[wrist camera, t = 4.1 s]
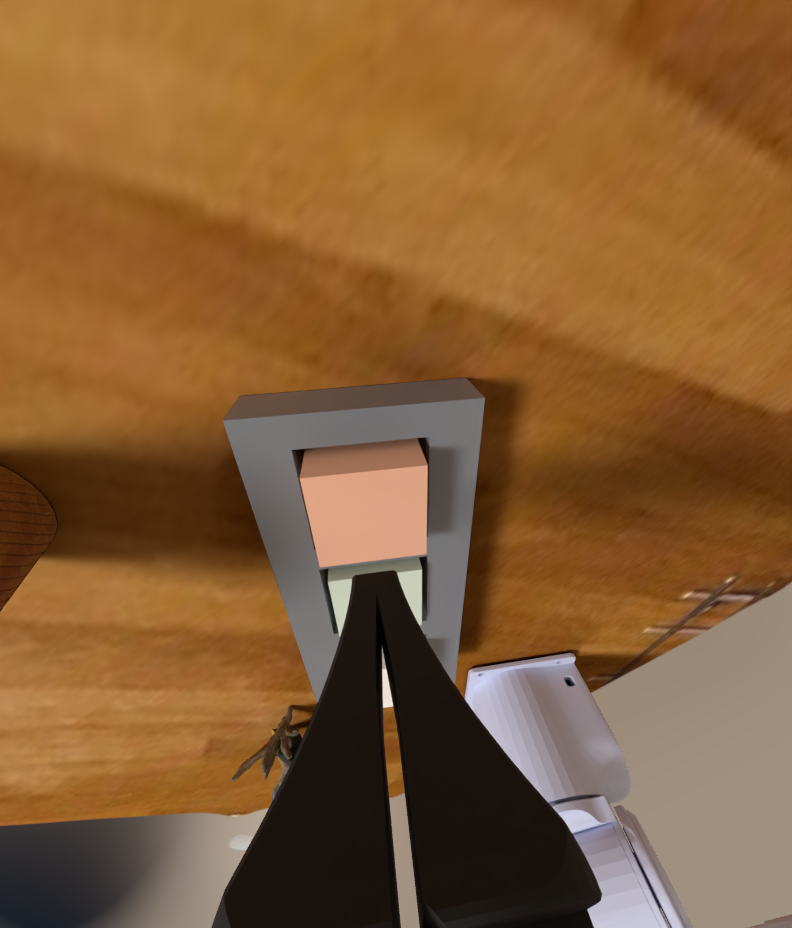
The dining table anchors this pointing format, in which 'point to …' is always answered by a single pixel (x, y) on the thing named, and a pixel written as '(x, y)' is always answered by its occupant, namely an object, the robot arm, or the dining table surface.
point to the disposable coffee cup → (21, 530)
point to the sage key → (342, 576)
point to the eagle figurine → (276, 750)
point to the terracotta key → (366, 501)
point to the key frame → (353, 422)
